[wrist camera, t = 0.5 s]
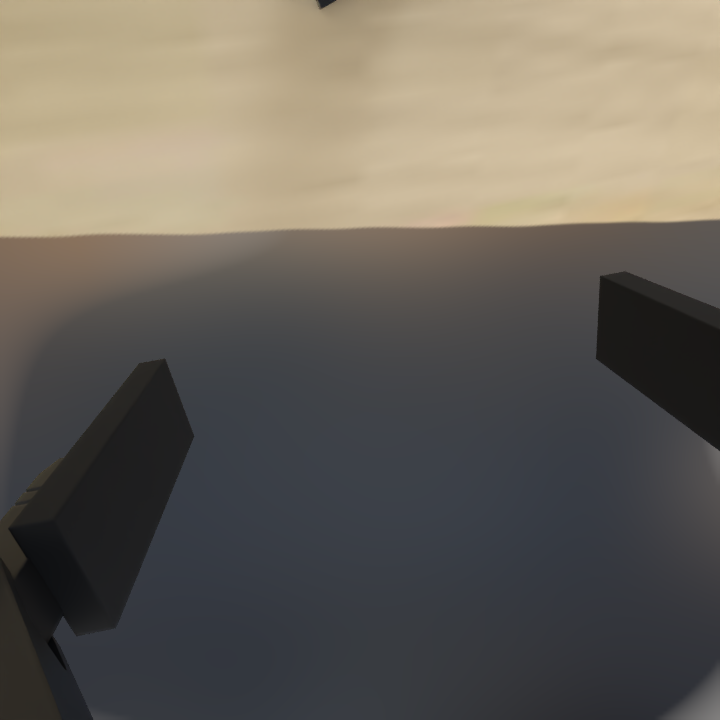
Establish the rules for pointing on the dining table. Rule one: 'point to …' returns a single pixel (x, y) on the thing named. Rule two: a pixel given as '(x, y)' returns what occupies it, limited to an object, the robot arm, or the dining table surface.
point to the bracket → (324, 3)
